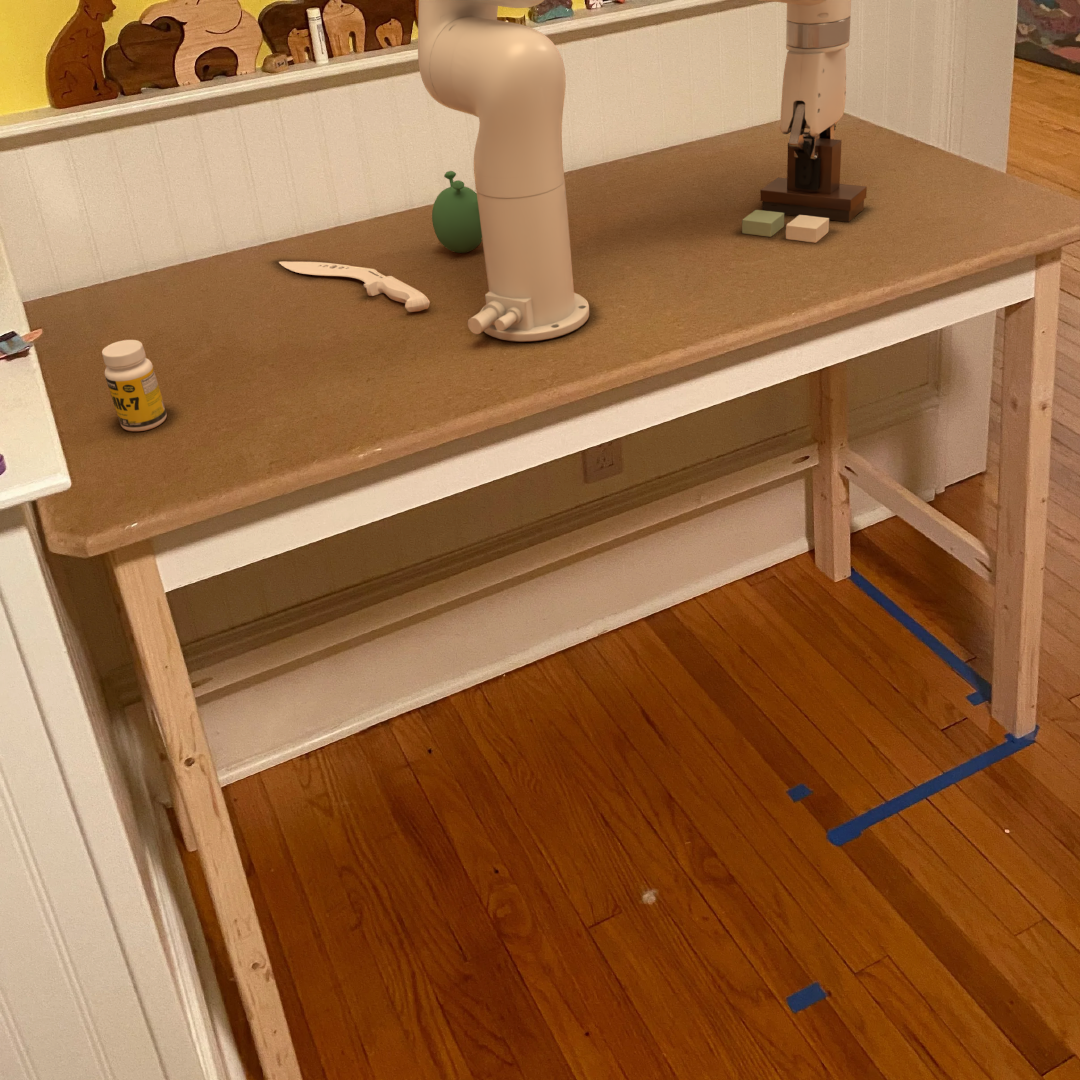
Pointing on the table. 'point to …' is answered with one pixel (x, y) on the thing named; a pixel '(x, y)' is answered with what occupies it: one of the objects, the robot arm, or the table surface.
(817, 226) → the chip
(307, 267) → the knife
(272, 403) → the table surface
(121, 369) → the supplement bottle
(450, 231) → the alien toy
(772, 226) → the chip
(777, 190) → the brown inverted t block
